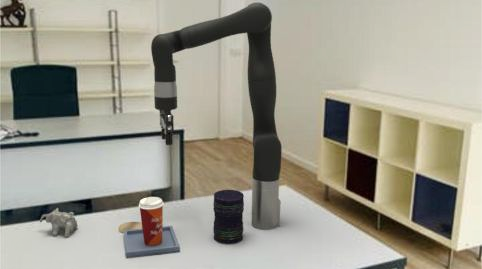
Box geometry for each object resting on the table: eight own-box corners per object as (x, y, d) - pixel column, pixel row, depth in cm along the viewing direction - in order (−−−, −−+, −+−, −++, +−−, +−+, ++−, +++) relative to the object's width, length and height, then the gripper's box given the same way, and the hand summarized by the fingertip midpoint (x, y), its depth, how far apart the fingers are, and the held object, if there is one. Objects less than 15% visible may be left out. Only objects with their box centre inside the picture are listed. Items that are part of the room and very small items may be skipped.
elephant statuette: (75, 238, 156) (75, 216, 154) (36, 239, 153) (35, 217, 151) (78, 227, 165) (78, 206, 163) (41, 228, 162) (40, 206, 160)
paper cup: (158, 249, 147) (156, 206, 144) (136, 245, 149) (133, 203, 146) (169, 238, 154) (167, 197, 151) (148, 235, 157) (145, 194, 153)
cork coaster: (144, 221, 168) (144, 220, 168) (146, 232, 160) (146, 231, 160) (117, 224, 166) (117, 223, 166) (118, 235, 158) (118, 233, 157)
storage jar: (249, 239, 156) (250, 196, 153) (224, 247, 151) (225, 202, 147) (231, 228, 164) (231, 187, 161) (207, 236, 158) (207, 193, 155)
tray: (172, 230, 162) (172, 225, 162) (179, 251, 147) (179, 246, 147) (123, 235, 158) (123, 230, 157) (126, 258, 143) (126, 252, 142)
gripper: (180, 97, 154) (181, 146, 158) (173, 91, 167) (174, 136, 171) (157, 98, 152) (159, 147, 156) (151, 92, 165) (153, 137, 169)
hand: (167, 141), depth 163 cm, fingers open, 8 cm apart
